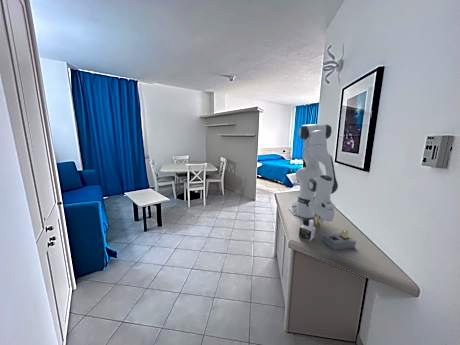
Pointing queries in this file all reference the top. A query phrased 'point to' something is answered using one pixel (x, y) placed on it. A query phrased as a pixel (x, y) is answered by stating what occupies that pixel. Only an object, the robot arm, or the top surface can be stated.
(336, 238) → the block
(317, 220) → the pin
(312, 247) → the top surface
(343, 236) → the pin
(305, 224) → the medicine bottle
